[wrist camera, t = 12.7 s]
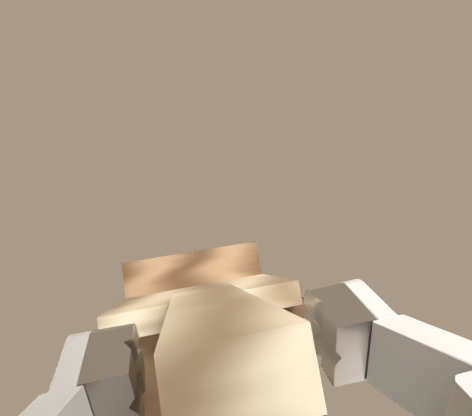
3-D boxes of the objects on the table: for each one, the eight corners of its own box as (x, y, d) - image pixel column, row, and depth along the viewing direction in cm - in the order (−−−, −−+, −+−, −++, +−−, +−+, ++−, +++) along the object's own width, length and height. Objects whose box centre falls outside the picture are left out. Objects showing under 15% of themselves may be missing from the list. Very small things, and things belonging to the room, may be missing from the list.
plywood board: (-73, 521, 6) (-84, 270, 7) (136, 308, 33) (130, 263, 34) (489, 371, 8) (444, 190, 9) (253, 286, 36) (245, 244, 36)
